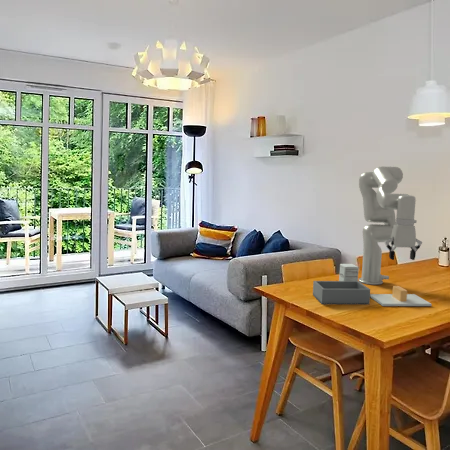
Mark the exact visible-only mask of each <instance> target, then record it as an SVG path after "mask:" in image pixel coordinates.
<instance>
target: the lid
mask: <svg viewBox="0 0 450 450" xmlns="http://www.w3.org/2000/svg"><path fill="white" fill-rule="evenodd" d="M370 299H372V300H374V301H375V302H376V303H378V304H379V305H381V306H382V307H398V306H399V307H432V303H431V302H429V301H427V300H425V299H424V298H422V297H420V296H418V295H417V294H415V293H412V294H411V293H408V290H407V289H405V288H403V287H401V286H399V285H393V286H392V293H370Z"/></svg>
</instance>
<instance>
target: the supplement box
mask: <svg viewBox="0 0 450 450" xmlns="http://www.w3.org/2000/svg"><path fill="white" fill-rule="evenodd" d="M338 281H359V266H357V265H355V264H354V263H340V264H339V276H338Z"/></svg>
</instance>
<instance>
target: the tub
mask: <svg viewBox="0 0 450 450" xmlns="http://www.w3.org/2000/svg"><path fill="white" fill-rule="evenodd" d="M312 284H313V285H312V296H313V297H314V298H315V299H316V300H317V302H319V303H320V304H321V305H370V301H371V300H370V299H371V297H370V294H371V288H369V287H368V286H366V284H364V283H361V282H359V280H358V281H339V280H313V283H312Z"/></svg>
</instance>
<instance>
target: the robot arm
mask: <svg viewBox="0 0 450 450" xmlns="http://www.w3.org/2000/svg"><path fill="white" fill-rule="evenodd" d="M403 176H404V173H403V170H402V169H401V168H400V167H398V166H378V167H375V169H374V170H372V171H366V172H362V173H361V174H360V176H359V178H358V188H359V191H360V194H361V197H362V205H363V217H364V220H365V222H368V223H371V224H367V225H366V224H365V226H363V228H362V239H363V240H362V242H363V243H362V244H363V250H362V251H363V252H362V265H361V266H362V269H361V277H358V281H359V282H360V283H362V284H363V285H372V286H373V285H374V286H376V285H382V284H383V283H384V281H383V280H389V279H390V275H385V274H381V272H382V271H381V269H382V255H383V251H382V248H381V246H380V245H379V243H384V244H385V247H386V248H387V249H388V250H389V253H388V254H389V255H388V257H389V259H390V260H393V261H394V260H395V250H396V248H409V249H411V250H410V251H409V252H410V253H409V259H410V260H412V261H415V259H416V256H417V255H416V253H417V252H418V250H419V249H421V248H420V247H421V246H422V245H423V242H422V241H421V240H419V239H418V238H417V237H416V236H417V233H416V226H415V224H417V220H416V219H415V213H416V212H415V211H416V201H417V200H416V197H415V196H414V195H412V194H411V195H409V194H407V193H394V192H395V191H396V190H397V189H398V185H399V184H400V183H401V182H402V180H403V178H404V177H403ZM373 188H375V189H377V190H374V189H373ZM395 211H396V212H395ZM373 223H375V224H373ZM378 223H382V224H378Z"/></svg>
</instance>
